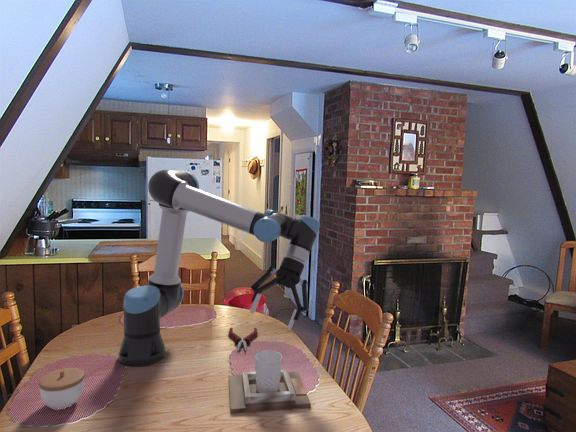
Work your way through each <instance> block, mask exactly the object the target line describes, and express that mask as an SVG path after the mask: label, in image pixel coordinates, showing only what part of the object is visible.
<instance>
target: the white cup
mask: <svg viewBox="0 0 576 432" xmlns="http://www.w3.org/2000/svg"><path fill="white" fill-rule="evenodd" d="M254 362H255V373H256V389H257V391H258V392H259V393H269V392H277V391H278V390H279V384H280V377H281V370H282V362H283V355H282V354H281V352H279V351H276V350H261V351H259V352H257V353H256V354H255V356H254Z"/></svg>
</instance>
